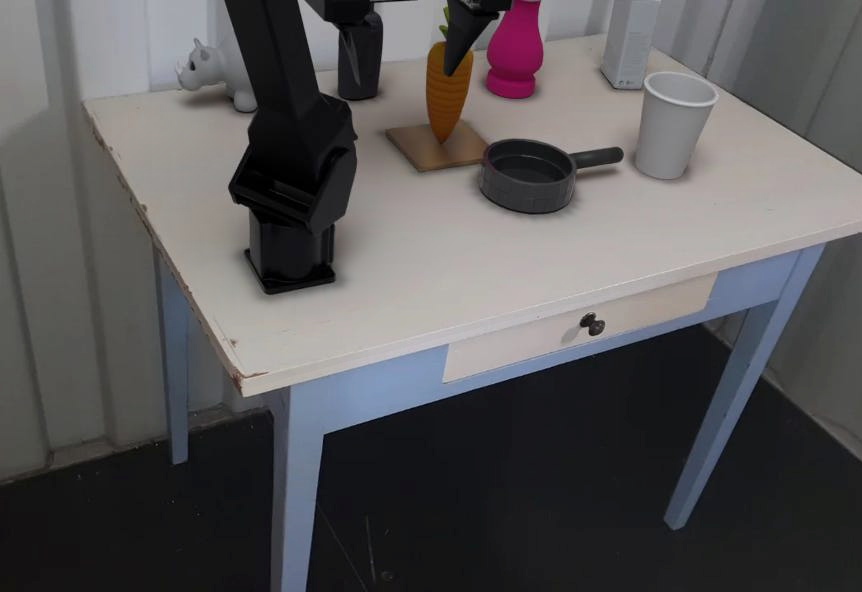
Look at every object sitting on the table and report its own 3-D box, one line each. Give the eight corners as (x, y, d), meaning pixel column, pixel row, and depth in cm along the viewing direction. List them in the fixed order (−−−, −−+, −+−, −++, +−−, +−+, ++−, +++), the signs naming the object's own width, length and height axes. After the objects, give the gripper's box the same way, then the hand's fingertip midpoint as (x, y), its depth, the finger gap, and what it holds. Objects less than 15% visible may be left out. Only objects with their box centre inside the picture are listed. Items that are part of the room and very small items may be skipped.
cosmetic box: (642, 90, 125) (665, 1, 117) (611, 89, 123) (633, -1, 116) (627, 70, 129) (648, -17, 122) (597, 69, 128) (616, -19, 120)
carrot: (466, 154, 103) (484, 21, 93) (422, 153, 101) (436, 19, 92) (458, 133, 106) (475, 3, 97) (415, 131, 105) (428, 0, 96)
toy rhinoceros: (169, 94, 106) (163, 21, 100) (272, 86, 111) (271, 16, 105) (184, 122, 101) (178, 47, 96) (291, 113, 106) (291, 41, 101)
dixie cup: (640, 142, 112) (661, 64, 106) (704, 166, 109) (729, 87, 103) (612, 167, 106) (632, 85, 100) (679, 193, 103) (704, 111, 97)
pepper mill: (475, 76, 121) (496, -85, 108) (526, 76, 123) (553, -82, 111) (491, 101, 116) (516, -65, 103) (545, 100, 118) (575, -62, 105)
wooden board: (419, 172, 99) (419, 167, 99) (384, 133, 105) (385, 128, 105) (499, 160, 104) (499, 155, 103) (461, 123, 110) (462, 119, 109)
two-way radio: (370, 85, 114) (378, -38, 105) (389, 100, 112) (399, -25, 102) (331, 92, 111) (335, -35, 102) (349, 107, 109) (355, -21, 100)
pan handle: (567, 174, 100) (570, 159, 99) (558, 166, 101) (561, 151, 100) (625, 164, 103) (628, 150, 102) (615, 157, 104) (619, 142, 103)
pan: (508, 221, 94) (513, 191, 92) (462, 173, 100) (466, 144, 98) (588, 206, 98) (595, 177, 96) (539, 161, 105) (545, 133, 103)
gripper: (470, -120, 88) (452, 39, 98) (281, -120, 80) (282, 53, 89) (529, -83, 81) (504, 84, 91) (329, -79, 73) (324, 104, 82)
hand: (404, 79), depth 88 cm, fingers open, 9 cm apart
